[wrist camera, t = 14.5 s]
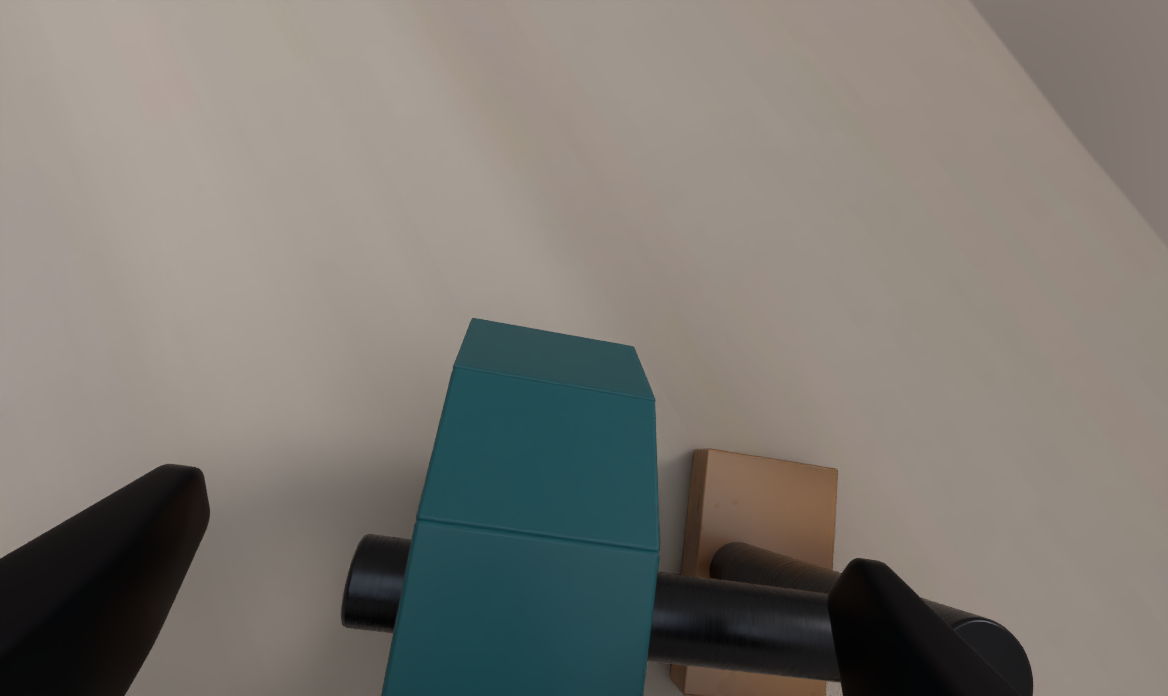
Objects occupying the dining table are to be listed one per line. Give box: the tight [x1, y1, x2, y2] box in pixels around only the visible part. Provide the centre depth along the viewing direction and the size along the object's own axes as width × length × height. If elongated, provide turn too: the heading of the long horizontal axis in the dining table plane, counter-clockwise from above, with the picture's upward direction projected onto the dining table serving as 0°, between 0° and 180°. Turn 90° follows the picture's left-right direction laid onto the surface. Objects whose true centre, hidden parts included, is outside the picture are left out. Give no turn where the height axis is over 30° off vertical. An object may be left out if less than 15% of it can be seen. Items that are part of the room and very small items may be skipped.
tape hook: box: [341, 534, 1033, 696], centre depth 16 cm, size 2×12×12 cm, turn 82°
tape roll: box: [381, 318, 660, 696], centre depth 14 cm, size 11×4×11 cm, turn 172°
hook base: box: [670, 449, 838, 696], centre depth 21 cm, size 8×5×2 cm, turn 172°
